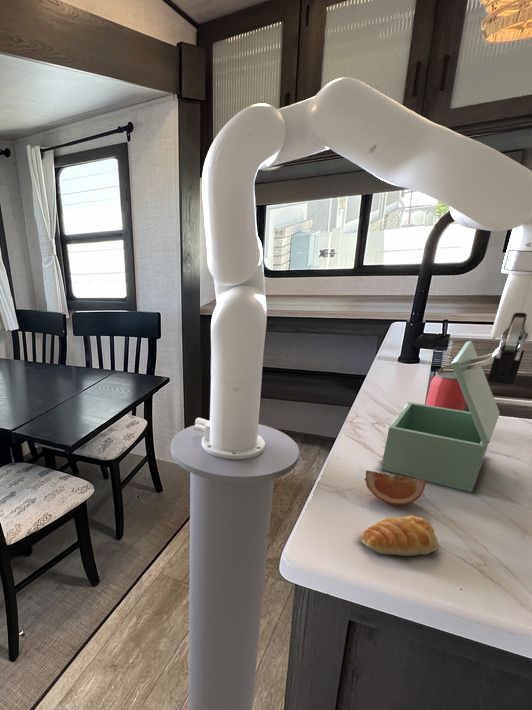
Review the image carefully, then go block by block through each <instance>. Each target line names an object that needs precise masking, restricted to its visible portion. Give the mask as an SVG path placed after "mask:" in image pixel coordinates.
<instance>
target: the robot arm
mask: <svg viewBox="0 0 532 710" xmlns="http://www.w3.org/2000/svg"><path fill="white" fill-rule="evenodd" d="M328 150H331V151H332V152H334V153H336V154H338V155H340V156H341V157H343V158H344V159H346V160H348V161H350V162H352V163H353V164H355V165H356V166H358V167H360V168H361V169H363V170H365V171H366V172H368V173H370V175H371V174H372V175H373V176H374V177H376V178H378V179H380V180H381V181H384V182H386V183H387V184H390V185H393V186H396V187H400V188H403V189H409V190H412V191H416V192H419V193H421V194H424V195H426V196H429V197H430V198H433V199H435V200H437V201H439V202H440V203H443V204H444V205H447V206H448V207H449V212H450V215H451V217H452V219H453V220H454V222H456V224H458V225H460V226H462V227H464V228H467V229H474V230H479V231H480V230H483V231H489V232H506V231H509V230H511V234H510V237H509V242H508V245H507V249H506V253H505V256H504V260H503V264H502V267H501V273H502V274H506V275H508V277H507V280H506V282H505V285H504V288H503V291H502V294H501V297H500V301H499V304H498V308H497V312H496V314H495V318H494V322H493V325H492V329H491V331H490V332H491V333H490V336H489V337H490V339H492V340H496V338H498V339H499V338H501V339H500V342H499V347H498V348H499V349H498V353H497V356H496V357H494V360H493V363H492V364H491V367H490V370H489V374H488V377H487V382H488V383H493V384H503V385H514V384H515V381H516V378H517V375H518V372H519V368H520V366H521V363H522V360H523V356H524V353H525V350H524V346H525V344H526V343H528V342H529V341H531V340H532V170H531V169H529V168H528V167H526V166H524V165H523V164H521V163H520V162H518V161H516V160H514V159H512V158H511V157H509V156H508V155H506V154H504V153H502V152H501V151H499V150H497V149H495V148H492V147H491V146H490V145H489V146H488V145H487V144H484V143H482V142H480V141H477V140H475V139H473V138H471V137H469V136H466V135H463V134H461V133H458V132H456V131H454V130H452V129H450V128H448V127H446V126H444V125H440V124H438V123H435V122H433V121H432V120H429V119H428V118H426V117H424V116H422V115H420V114H418V113H416V111H414V110H412V109H409V108H407V106H404V105H402V104H401V103H399V102H397V101H396V100H394V99H392V98H391V97H389V96H387V95H386V94H384V93H382V92H381V91H379V90H377V89H376V88H373V87H372V86H370V85H369V84H368V83H367V84H366V83H365V82H363V81H361V80H359V79H356V78H353V77H347V76H346V77H339V78H336V79H334V80H332V81H330V82H328V83H327V84H325V85H324V86H323V87H322V88H321V89H320V90H319V91H318V92H317V93H316V95H314V96H312V97H310V98H307V99H305V100H302V101H298V102H295V103H292V104H290V105H287V106H283V107H280V108H278V109H277V108H276V107H275V106H273V105H271V104H268V103H255V104H252V105H249V106H247V107H245V108H243V109H242V110H240V111H239V112H237V113H236V114H234V116H233V117H232V118H231V119H229V120H228V121H227V123H225V124H224V126H223V127H222V128H221V130H219V132H218V133H217V135H216V136H215V138H214V139H213V141H212V143H211V144H210V147H209V150H208V151H207V154H206V157H205V160H204V164H203V168H202V176H201V193H202V194H201V195H202V207H203V221H204V232H205V242H206V261H207V269H208V272H209V273H210V276H212V277H213V284H214V285H213V286H214V292H215V302H216V303H215V304H216V305H215V308H214V309H213V311H212V316H211V322H210V350H211V351H210V353H211V355H210V399H209V400H210V401H209V402H210V405H209V420H208V419H206V418H202V417H197V418H195V421H194V425H195V427H194V430H197V431H202V432H204V434H205V436H204V437H203V438H202V447H203V449H204V450H205V451H206V452H208V453H209V454H211V455H214V456H216V457H220V458H224V459H233V460H240V459H248V458H252V457H256V456H258V455H260V454H261V453H262V452H263V451H264V448H265V442H264V440H263V439H262V438H261V437H260V436H259V435H258V424H259V420H260V406H261V394H262V393H261V392H262V380H263V365H264V353H265V351H264V350H265V341H266V332H267V323H268V321H267V320H268V319H267V318H268V317H267V316H268V315H267V313H268V311H267V298H266V297H267V296H266V284H265V283H266V282H265V274H264V273H265V272H264V271H265V269H264V257H263V256H264V255H263V245H262V242H261V240H260V237H259V236H258V235H259V234H258V226H257V216H256V215H257V214H256V195H255V182H256V181H255V180H256V177H257V173H258V171H259V170H264V169H268V168H270V167H274V166H277V165H280V164H284V163H287V162H288V163H289V162H292V161H294V160H299V159H301V158H306V157H308V156H311V155H312V156H313V155H316V154H318V153H321V152H324V151H328ZM501 336H502V337H501Z"/></svg>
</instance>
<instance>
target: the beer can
mask: <svg viewBox="0 0 532 710" xmlns="http://www.w3.org/2000/svg"><path fill="white" fill-rule="evenodd" d="M427 392H428V393H427V397H426V401H425V405H430V406H436V407H442V408H448V409H454V410H460V411H465V407H466V404H467V402H466V400H465V397H464V395H463V392H462V390H461V387H460V385H459V382H458V380H457V377H456V375H455V372H454V369H453V370H452V369H445V370H439V371H436V372H435V375H434V376H433V377H432V379H431V381H430V384H429V387H428V391H427Z"/></svg>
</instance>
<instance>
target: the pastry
mask: <svg viewBox="0 0 532 710" xmlns="http://www.w3.org/2000/svg"><path fill="white" fill-rule="evenodd" d="M361 543H362V544H364V545H365V546H366V547H367V548H369V549H371V550H372V551H374V552H376V553H379V554H381V555H386V556H390V555H395V556H399V557H406V556H408V557H412V556H418V555H423V556H424V555H429V554H430V553H432V552H434V551H436V550H438V549H439V546H440V545H439V542H438V537H437V535H436V533H435V529H434V527H433V526H432V525H431V523H430V522H429V521H427V520H426V519H425V518H423V517H419V516H416V515H414V514H412V515H407V516H402V517H401V516H400V517H399V516H396V517H395V516H394V517H387V518H385V519H383V520H381V521H378V522H376V523H375V524H372V525H371V526H370V527H368V528H366V529H365V530H364V531H363V534H362V538H361Z"/></svg>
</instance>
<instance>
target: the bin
mask: <svg viewBox="0 0 532 710" xmlns="http://www.w3.org/2000/svg"><path fill="white" fill-rule="evenodd" d="M488 446H489V444H483V443H482V440H481V438H480V435H479V433H478V430H477V428H476V425H475V423H474V420H473V418H472V415H471V413H470V411H466V410H464V411H460V410H454V409H448V408H442V407H436V406H430V405H426V404H423V403H417V402H411V401H408V402H407V404H406V405H405V406H404V407H403V409H402V410H401V411H400V413H399V414H398V415H397V417H396V418H395V419H394V421H393V422H392V423H391V424H390V426H389V427H388V432H387V435H386V441H385V446H384V452H383V457H382V460H381V467H380V470H382V471H386V472H390V473H393V474H397V475H400V476H405V477H408V478H416V479H422V480H425V482H429V483H433V484H437V485H441V486H445V487H449V488H453V489H456V490H460V491H464V492H468V493H473V490H474V488H475V485H476V483H477V479H478V477H479V474H480V471H481V468H482V464H483V462H484V459H485V456H486V453H487V449H488Z"/></svg>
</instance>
